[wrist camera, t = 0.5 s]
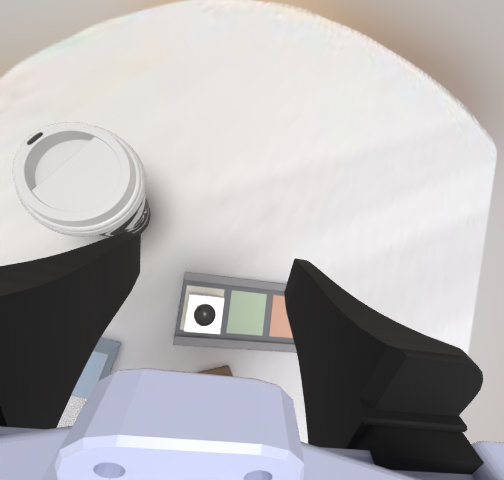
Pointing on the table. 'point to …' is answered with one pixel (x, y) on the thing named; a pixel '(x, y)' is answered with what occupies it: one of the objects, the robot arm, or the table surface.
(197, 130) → the table surface
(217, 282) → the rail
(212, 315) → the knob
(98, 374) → the slate-blue block
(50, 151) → the coffee cup
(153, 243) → the table surface
